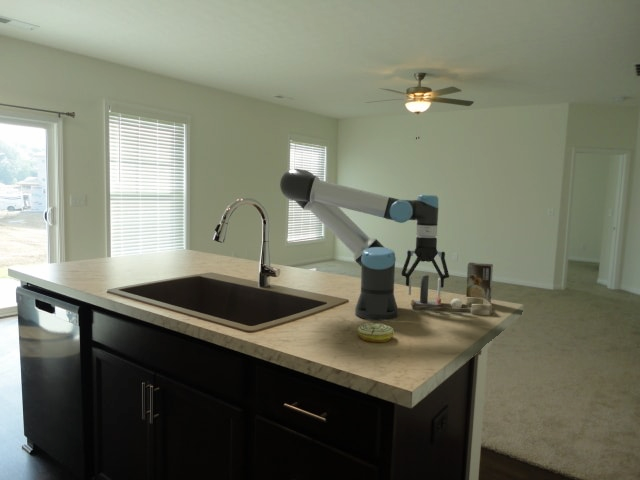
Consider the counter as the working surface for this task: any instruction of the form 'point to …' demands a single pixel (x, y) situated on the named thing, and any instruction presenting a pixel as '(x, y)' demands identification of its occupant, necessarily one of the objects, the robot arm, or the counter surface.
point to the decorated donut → (375, 332)
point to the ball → (456, 303)
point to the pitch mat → (444, 311)
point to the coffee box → (479, 280)
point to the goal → (479, 306)
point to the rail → (443, 307)
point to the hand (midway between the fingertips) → (424, 295)
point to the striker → (426, 294)
